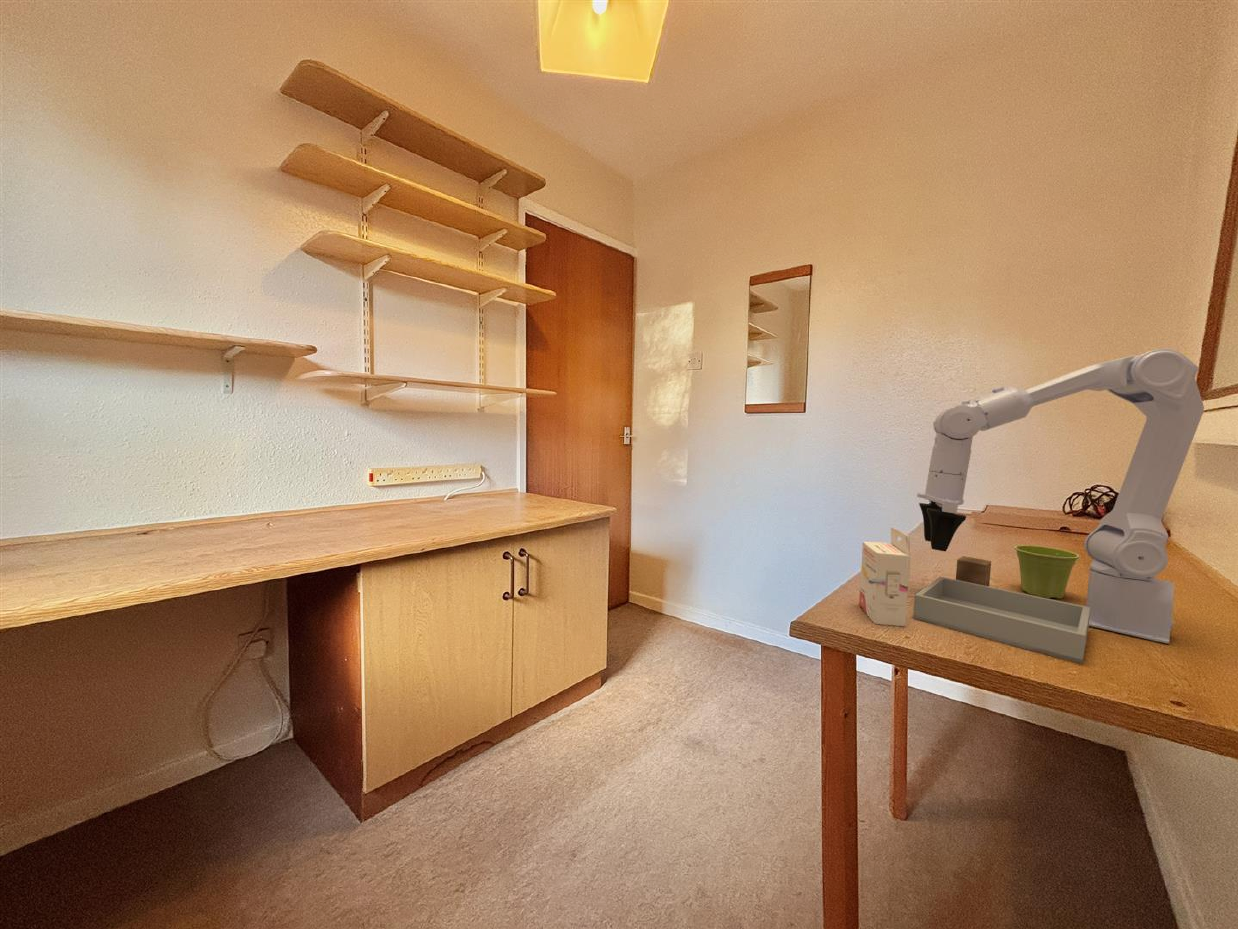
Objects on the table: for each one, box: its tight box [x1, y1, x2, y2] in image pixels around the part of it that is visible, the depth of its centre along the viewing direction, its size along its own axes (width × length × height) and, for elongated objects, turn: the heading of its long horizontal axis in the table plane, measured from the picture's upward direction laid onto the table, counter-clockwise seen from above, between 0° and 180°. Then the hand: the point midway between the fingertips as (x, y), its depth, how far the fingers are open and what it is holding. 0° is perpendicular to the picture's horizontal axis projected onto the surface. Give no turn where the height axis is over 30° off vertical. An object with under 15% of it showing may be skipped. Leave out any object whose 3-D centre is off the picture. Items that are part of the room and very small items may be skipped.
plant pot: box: [1013, 544, 1081, 600], centre depth 91 cm, size 9×9×9 cm
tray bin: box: [912, 576, 1090, 665], centre depth 75 cm, size 20×16×4 cm
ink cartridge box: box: [858, 526, 911, 627], centre depth 78 cm, size 9×5×15 cm, turn 168°
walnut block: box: [955, 555, 992, 587], centre depth 89 cm, size 4×4×7 cm
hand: (934, 545), depth 86 cm, fingers open, 7 cm apart
